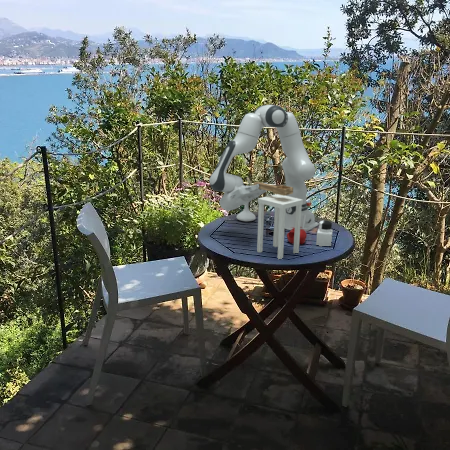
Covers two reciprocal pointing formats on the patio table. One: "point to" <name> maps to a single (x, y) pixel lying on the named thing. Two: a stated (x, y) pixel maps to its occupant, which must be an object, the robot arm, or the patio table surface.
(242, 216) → the flower in vase
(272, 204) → the tall stand
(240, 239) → the patio table surface
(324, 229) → the medicine bottle
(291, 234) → the pomegranate
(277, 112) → the robot arm
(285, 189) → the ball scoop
